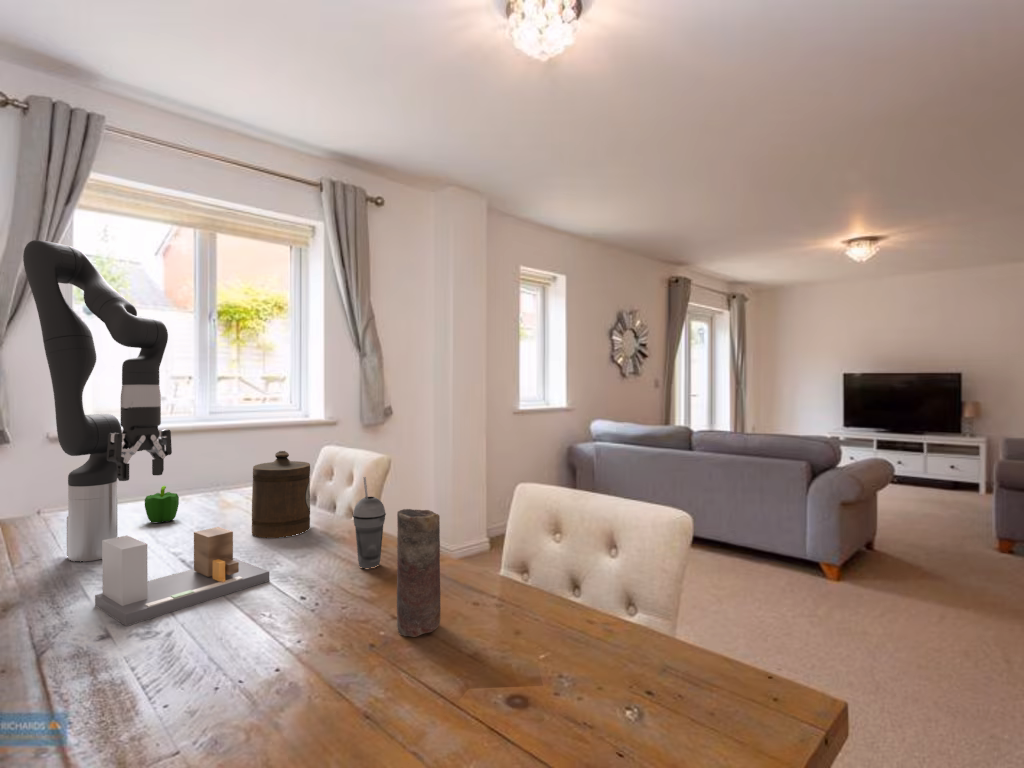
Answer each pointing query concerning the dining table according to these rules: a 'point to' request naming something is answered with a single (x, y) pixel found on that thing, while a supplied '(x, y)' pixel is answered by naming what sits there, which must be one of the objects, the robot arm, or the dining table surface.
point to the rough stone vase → (418, 572)
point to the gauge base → (158, 583)
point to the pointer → (219, 570)
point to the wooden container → (280, 497)
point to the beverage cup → (369, 529)
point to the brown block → (214, 550)
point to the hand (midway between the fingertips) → (141, 477)
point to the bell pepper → (161, 506)
